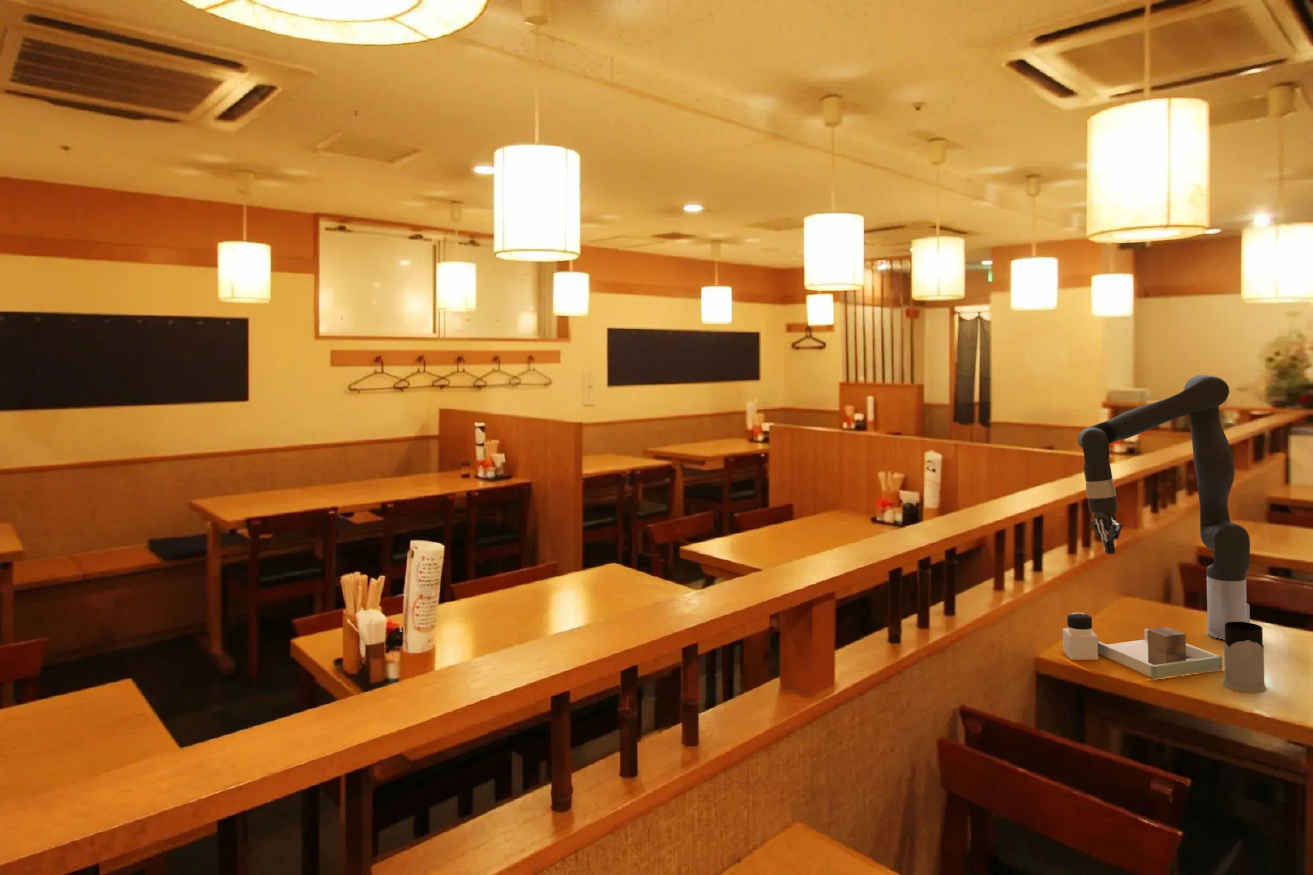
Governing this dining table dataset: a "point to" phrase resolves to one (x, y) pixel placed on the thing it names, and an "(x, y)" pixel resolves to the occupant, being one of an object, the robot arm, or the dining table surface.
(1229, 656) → the glass holder
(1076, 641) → the medicine bottle
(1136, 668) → the shallow white tray
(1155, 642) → the walnut block
